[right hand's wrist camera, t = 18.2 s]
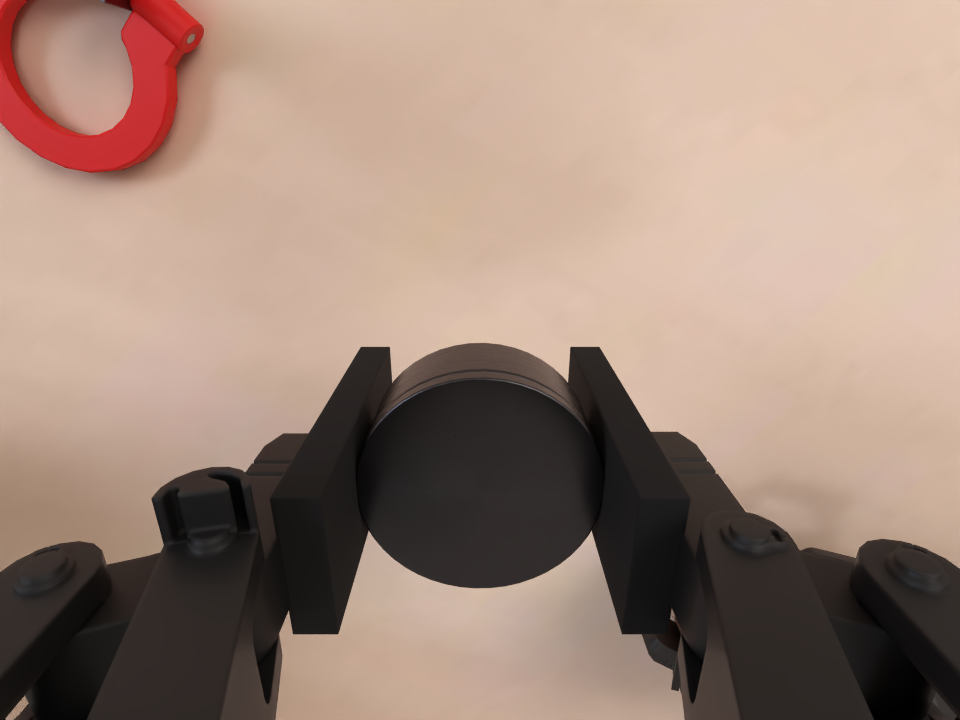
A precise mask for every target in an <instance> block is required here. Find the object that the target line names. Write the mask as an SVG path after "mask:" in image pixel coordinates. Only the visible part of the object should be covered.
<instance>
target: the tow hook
mask: <svg viewBox="0 0 960 720" xmlns="http://www.w3.org/2000/svg"><path fill="white" fill-rule="evenodd" d="M27 1H28V0H0V122H1V123H2V124H3V125H4V127H5V128H6V129H7V130H8V131H9V132H10V133H11V134H12V135H13V136H14V137H15V138H16V139H17V140H18V141H20V142H21V143H22V144H24V145H25V146H27V147H28V148H29V149H31V150H32V151H34V152H35V153H36V154H38V155H39V156H40V157H43V158H45V159H47V160H49V161H52V162H54V163H56V164H58V165H61V166H63V167H65V168H69V169H74V170H80V171H85V172H91V173H93V172H104V171H114V170H124V169H126V168H129V167H131V166H133V165H136V164H138V163H140V162H143V161H145V160H146V159H147V158H148V157H149V156H150V155H151V154H152V153H153V152H154V151H155V150H157V149H158V148H159V147H160V146H161V144H162V142H163V141H164V139H165V137H166V135H167V133H168V132H169V130H170V128H171V126H172V123H173V118H174V114H175V109H176V104H177V77H176V68H175V67H176V65H177V64H178V62H179V60H180V59H181V57H182V55H183V54H184V53H189V52H191V51H192V50H193V49H195V48H196V47H197V45H198V44H199V43H200V41H201V39H202V37H203V33H204V29H203V26H202V25H201V24H200V23H199V22H197V21H196V20H195V19H194V18H193V17H192V16H191V15H190V14H189V13H188V12H186V11H185V10H184V9H183V8H182V7H181V6H180V5H179V4H178V3H177V2H176V1H174V0H100V1H102V2H105V3H108V4H111V5H114V6H117V7H120V8H123V9H126V10H129V11H132V12H131V14H130V16H129V18H128V20H127V22H126V23H125V25H124V27H123V29H122V31H121V36H122V41H123V43H124V45H125V47H126V49H127V52H128V55H129V59H130V62H131V65H132V71H133V85H134V88H133V93H132V99H131V104H130V106H129V108H128V110H127V112H126V114H125V116H124V118H123V119H122V120H121V121H120V122H119V123H118V124H117V125H116V126H115V127H114V128H113V129H111V130H108V131H106V132H104V133H102V134H99V135H91V136H89V135H84V134H78V133H75V132H73V131H71V130H68V129H66V128H64V127H62V126H60V125H58V124H57V123H56V122H54V121H53V120H52V119H50V118H49V117H48V116H46V115H45V114H44V113H43V112H42V111H41V110H40V109H39V108H38V106H37V105H36V104H35V103H34V102H33V101H32V100H31V98H30V97H29V95H28V94H27V92H26V90H25V89H24V87H23V85H22V84H21V82H20V80H19V77H18V74H17V72H16V69H15V66H14V64H13V58H12V51H11V34H12V26H13V23H14V21H15V18H16V16H17V13H18V11H19V10H20V9H21V7H22V6H23V5H24V4H25V3H26V2H27Z"/></svg>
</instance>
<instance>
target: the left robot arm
mask: <svg viewBox="0 0 960 720" xmlns="http://www.w3.org/2000/svg"><path fill="white" fill-rule="evenodd" d="M802 551H804V552H808V553H812V554H816V555H821V556H825V557H830V558H835V559H840V560H844V561H849V562H854V563H855V560H856V558H853V557H849V556H845V555H841V554H837V553H833V552H829V551H825V550H821V549H817V548H806V549H804V550H802ZM642 636H643V639H644V642H645V645H646V647H647V650H648V653H649V655H650V656H651V658H652V659H653V660H654V661H655V662H657V663H659V664H661V665H664V666H665V667H667V668H670V669H671V670H673V675H674V670H675V664H676V659H677V654H678V648H679V643H680V637H681V634H680V632H679V630H678V627H677V625H676V623H675V622H674V621H672V620H670V621H669V627H668V633H667V634H642ZM679 688H680V691H681V694H682V690H681V681H680V686H679ZM933 702H934V704H935V705H936V706H937V707H938V708H939V710H940V711H941V712H942V713H943V714H944V715H945V716H946V717H947V718H948V719H949V720H955V718H956V715H955V713H954V712H953V711H952V710H951V709H950V707H949V706H948V705H947V704H946V703H945V702H944V700H943V699H942V698H941V697H940V696H939V694H938V693H936V695H935V697H934V700H933Z"/></svg>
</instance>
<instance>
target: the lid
mask: <svg viewBox="0 0 960 720" xmlns="http://www.w3.org/2000/svg"><path fill="white" fill-rule="evenodd" d="M604 480H605V474H604V466H603V462H602V458H601V454H600V451H599V449H598V446H597V444H596V441H595V439H594V436H593V434H592V431H591V429H590V426H589V424H588V421H587V419H586V416H585V414H584V411H583V409H582V406H581V404H580V402H579V399H578V397H577V396H576V394H575V392H574V391H573V389H572V387H571V386H570V385H569V384H568V383H567V381H566V380H565V379H564V378H563V377H562V376H561V375H560V374H559V373H558V372H557V371H556V370H555V369H554V368H553V367H551V366H550V365H548V364H547V363H545V362H544V361H543V360H541V359H539V358H537V357H535V356H533V355H531V354H529V353H527V352H524V351H522V350H519V349H516V348H513V347H508V346H504V345H499V344H489V343H469V344H462V345H456V346H452V347H448V348H444V349H441V350H438V351H436V352H434V353H431V354H429V355H427V356H425V357H423V358H422V359H420V360H418V361H416V362H415V363H413V364H412V365H411V366H409V367H408V368H407V369H406V370H404V371H403V372H402V373H401V374H400V375H399V376H398V377H397V378H396V379H395V380H394V382H393V383H392V384H391V386H390V387H389V388H388V390H387V391H386V393H385V395H384V396H383V398H382V400H381V402H380V404H379V407H378V409H377V412H376V414H375V417H374V419H373V422H372V425H371V427H370V430H369V432H368V435H367V437H366V440H365V442H364V445H363V448H362V450H361V453H360V456H359V459H358V464H357V469H356V488H357V497H358V505H359V509H360V512H361V515H362V517H363V520H364V522H365V524H366V526H367V528H368V530H369V531H370V533H371V534H372V536H373V537H374V539H375V540H376V541H377V542H378V544H379V545H380V546H381V547H382V548H383V550H385V551H386V552H387V553H388V554H389V555H390V556H391V557H392V558H393V559H394V560H396V561H397V562H399V563H400V564H401V565H403V566H404V567H406V568H407V569H409V570H411V571H413V572H415V573H417V574H418V575H421V576H423V577H426V578H428V579H430V580H433V581H437V582H440V583H443V584H447V585H452V586H458V587H466V588H494V587H503V586H508V585H513V584H517V583H521V582H524V581H527V580H530V579H533V578H535V577H537V576H539V575H542V574H544V573H546V572H548V571H549V570H551V569H553V568H554V567H556V566H558V565H559V564H561V563H562V562H563V561H564V560H566V559H567V558H568V557H569V556H571V555H572V554H573V553H574V552H575V551H576V550H577V549H578V548H579V547H580V546H581V544H582V543H583V542H584V540H585V539H586V538H587V537H588V535H589V534H590V532H591V530H592V528H593V527H594V525H595V523H596V521H597V518H598V516H599V513H600V511H601V507H602V500H603V491H604Z"/></svg>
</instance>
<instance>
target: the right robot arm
mask: <svg viewBox="0 0 960 720" xmlns="http://www.w3.org/2000/svg"><path fill="white" fill-rule="evenodd" d="M391 384H392V374H391V358H390V347H361V348H360V350H359V351H358V353H357V354H356V356H355V358H354V359H353V361H352V363H351V364H350V366H349V368H348V369H347V371H346V373H345V374H344V376H343V378H342V379H341V381H340V383H339V384H338V386H337V388H336V389H335V391H334V393H333V394H332V396H331V398H330V399H329V401H328V403H327V404H326V406H325V407H324V409H323V411H322V412H321V414H320V416H319V417H318V419H317V421H316V422H315V424H314V426H313V427H312V429H311V431H310V432H309V434H282V435H281V436H279V437H278V438H276V439H275V440H273V441H272V442H270V443H269V444H267V445H266V446H264V448H263V449H262V450H261V452H260V453H259V455H258V456H257V457H256V459H255V460H254V464H251V466H250V467H249V468H248V470H247V471H246V472H243V471H242V470H239V469H235V468H231V467H211V468H206V469H202V470H197V471H193V472H190V473H188V474H185V475H183V476H180V477H178V478H175V479H174V480H172V481H170V482H169V483H167V484H166V485H164V486H163V487H161V488H160V489H159V490H158V491H157V493H156V494H155V495H154V496H153V497H152V498H151V499H152V502H153V506H154V510H155V514H156V517H157V521H158V525H159V528H160V532H161V536H162V539H163V543H164V546H163V549H162V551H161V553H157V554H154V555H150V556H146V557H141V558H136V559H132V560H127V561H122V562H118V563H113V564H108V565H106V561H105V558H104V555H103V552H102V550H101V549H100V548H99V547H97V546H96V545H95V544H93V543H87V542H80V541H78V542H69V543H61V544H57V545H53V546H50V547H46V548H43V549H40V550H37V551H35V552H33V553H32V554H30V555H27V556H25V557H23V558H21V559H19V560H17V561H16V562H14V563H13V564H11V565H10V566H8V567H7V568H6V569H4V570H3V571H1V572H0V720H6V719H5V718H6V717H7V716H8V715H9V713H10V712H11V711H12V710H13V709H14V707H15V706H16V705H17V704H18V703H19V701H20V700H21V699H22V698H23V697H24V695H25V696H26V699H27V701H28V703H29V704H28V705H27V706H26V707H25V708H24V710H23V711H22V712H21V713H20V715H18V716H17V717H16V718H15V719H14V720H275V718H276V709H277V700H278V691H279V682H280V673H281V664H282V649H281V643H280V637H279V632H280V630H281V628H282V625H283V623H284V620H285V618H286V616H287V613H288V611H289V614H290V619H291V625H292V631H293V634H338V633H339V630H340V626H341V623H342V620H343V616H344V613H345V609H346V606H347V603H348V599H349V596H350V592H351V589H352V585H353V582H354V579H355V575H356V572H357V568H358V565H359V562H360V558H361V555H362V551H363V548H364V544H365V541H366V538H367V534H368V531H369V530H368V528H367V526H366V524H365V522H364V520H363V517H362V515H361V512H360V509H359V505H358V497H357V488H356V469H357V464H358V459H359V456H360V453H361V450H362V448H363V445H364V442H365V440H366V437H367V435H368V432H369V430H370V427H371V425H372V422H373V419H374V417H375V414H376V412H377V409H378V407H379V404H380V402H381V400H382V398H383V396H384V395H385V393H386V391H387V390H388V388H389V387H390V386H391ZM568 384H569V385H570V386H571V387H572V389H573V391H574V392H575V394H576V396H577V397H578V399H579V402H580V404H581V406H582V409H583V411H584V414H585V416H586V419H587V421H588V424H589V426H590V429H591V431H592V434H593V436H594V439H595V441H596V444H597V446H598V449H599V451H600V454H601V458H602V462H603V466H604V474H605V480H604V491H603V500H602V507H601V511H600V513H599V516H598V518H597V521H596V523H595V525H594V527H593V528H592V533H593V537H594V540H595V543H596V547H597V550H598V554H599V557H600V560H601V564H602V567H603V571H604V574H605V578H606V581H607V584H608V588H609V591H610V595H611V598H612V601H613V605H614V608H615V612H616V615H617V618H618V622H619V625H620V629H621V632H622V634H667V633H668V627H669V621H670V615H671V610H673V612H674V614H675V617H676V619H677V622H678V624H679V626H680V629H681V631H682V632H681V637H680V643H679V648H678V654H677V659H676V664H675V670H674V675H673V681H672V688H671V690H676V691H679V686H680V681H681V690H682V699H683V708H684V717H685V720H949V719H948V718H947V717H946V716H945V715H944V714H943V713H942V712H941V711H940V710H939V708H938V707H937V706H936V705H935V704H934V702H933V700H934V697H935V695H936V693H938V694H939V696H940V697H941V698H942V699H943V700H944V702H945V703H946V704H947V705H948V706H949V707H950V709H951V710H952V711H953V712H954V713H955V715H956V718H955V720H960V569H959V568H958V567H956V566H955V565H954V564H952V563H951V562H949V561H948V560H946V559H945V558H943V557H941V556H939V555H937V554H935V553H933V552H931V551H928V550H927V549H925V548H923V547H920V546H917V545H912V544H910V543H906V542H902V541H895V540H886V539H879V540H872V541H867V542H866V543H865V544H864V545H862V546H861V547H860V548H859V551H858V554H857V557H856V560H855V563H854V562H849V561H844V560H840V559H835V558H830V557H825V556H821V555H816V554H812V553H808V552H804V551H801V550H798V548H797V545H796V544H795V542H794V541H793V540H792V538H791V537H790V535H789V534H788V533H787V532H786V531H784V530H783V529H782V528H780V527H779V526H778V525H776V524H775V523H774V522H771V521H769V520H767V519H765V518H763V517H760V516H758V515H756V514H751V513H747V512H745V511H744V509H743V508H742V506H741V505H740V504H739V502H738V501H737V500H736V498H735V497H734V496H733V494H732V493H731V491H730V490H729V489H728V487H727V486H726V485H725V483H724V482H723V481H722V479H721V478H720V476H719V475H718V474H716V473H715V470H714V468H713V467H712V466H711V464H710V463H709V462H707V459H706V457H705V456H704V455H703V453H702V452H701V451H700V449H699V448H698V446H697V445H696V444H695V443H693V442H692V441H690V440H689V439H687V438H686V437H684V436H683V435H681V434H680V433H678V432H650V430H649V428H648V427H647V425H646V423H645V422H644V420H643V418H642V417H641V415H640V414H639V412H638V410H637V409H636V407H635V405H634V404H633V402H632V400H631V399H630V397H629V395H628V394H627V392H626V390H625V389H624V387H623V385H622V384H621V382H620V380H619V379H618V377H617V375H616V374H615V372H614V370H613V369H612V367H611V366H610V364H609V362H608V361H607V359H606V357H605V356H604V354H603V352H602V351H601V349H600V347H571V348H570V363H569V378H568Z"/></svg>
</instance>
